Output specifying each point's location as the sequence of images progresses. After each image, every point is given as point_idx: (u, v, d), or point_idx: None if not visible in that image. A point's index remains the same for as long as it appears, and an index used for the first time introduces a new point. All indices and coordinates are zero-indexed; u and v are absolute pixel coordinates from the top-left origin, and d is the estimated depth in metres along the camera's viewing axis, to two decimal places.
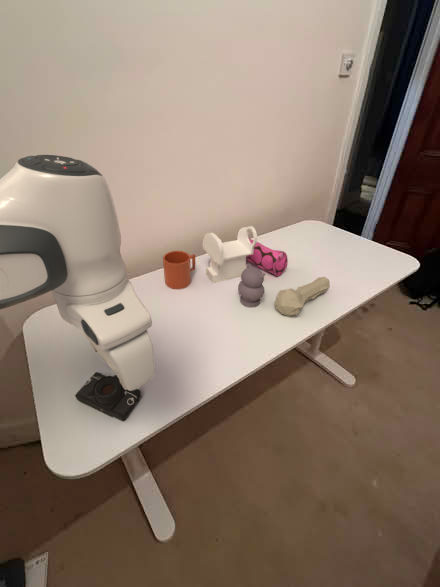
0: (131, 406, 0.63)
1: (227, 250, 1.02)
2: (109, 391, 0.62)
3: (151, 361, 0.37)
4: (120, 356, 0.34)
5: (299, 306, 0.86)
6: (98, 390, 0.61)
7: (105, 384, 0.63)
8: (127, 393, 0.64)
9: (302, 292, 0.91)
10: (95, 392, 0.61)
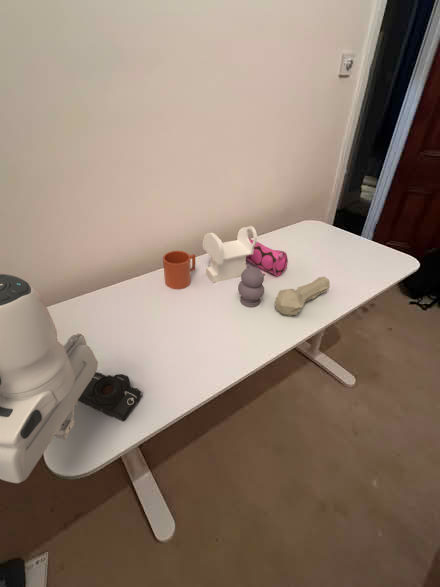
0: (131, 406, 0.63)
1: (227, 250, 1.02)
2: (109, 391, 0.62)
3: (11, 472, 0.37)
4: None
5: (299, 306, 0.86)
6: (98, 390, 0.61)
7: (105, 384, 0.63)
8: (127, 393, 0.64)
9: (302, 292, 0.91)
10: (95, 392, 0.61)
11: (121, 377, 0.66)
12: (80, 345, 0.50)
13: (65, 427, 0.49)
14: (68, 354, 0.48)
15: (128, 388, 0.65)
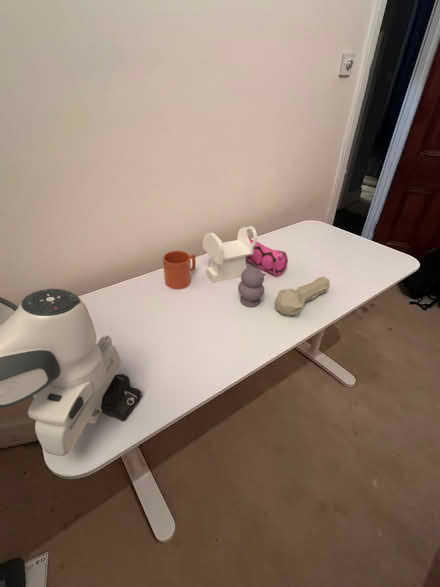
0: (131, 406, 0.63)
1: (227, 250, 1.02)
2: (109, 391, 0.62)
3: (59, 446, 0.47)
4: (38, 428, 0.46)
5: (299, 306, 0.86)
6: None
7: None
8: (128, 393, 0.64)
9: (302, 292, 0.91)
10: None
11: (121, 377, 0.66)
12: (108, 345, 0.59)
13: (95, 413, 0.59)
14: None
15: (128, 388, 0.65)
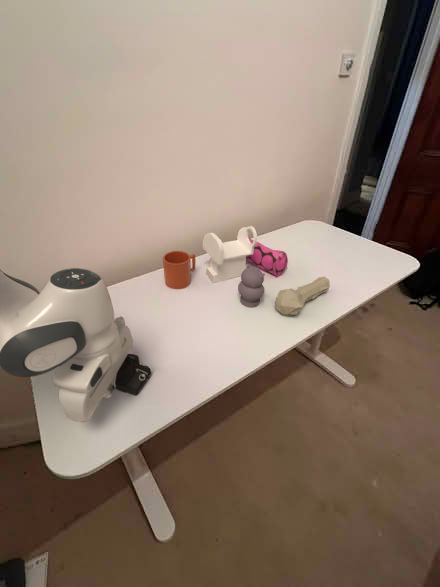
0: (143, 382, 0.68)
1: (227, 250, 1.02)
2: (122, 368, 0.67)
3: (81, 412, 0.52)
4: (61, 395, 0.51)
5: (299, 306, 0.86)
6: None
7: None
8: (139, 371, 0.69)
9: (302, 292, 0.91)
10: None
11: (131, 356, 0.71)
12: (122, 325, 0.64)
13: (110, 388, 0.63)
14: None
15: (139, 366, 0.70)
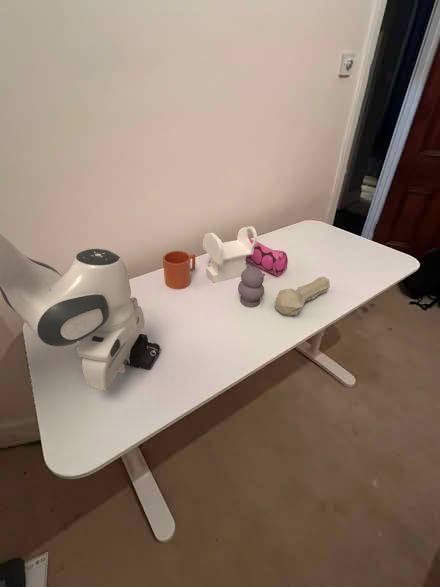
0: (154, 357, 0.74)
1: (227, 250, 1.02)
2: (134, 345, 0.72)
3: (101, 380, 0.57)
4: (84, 364, 0.56)
5: (299, 306, 0.86)
6: None
7: None
8: (149, 348, 0.75)
9: (302, 292, 0.91)
10: None
11: (141, 335, 0.76)
12: (135, 305, 0.69)
13: (124, 363, 0.69)
14: None
15: (148, 344, 0.76)
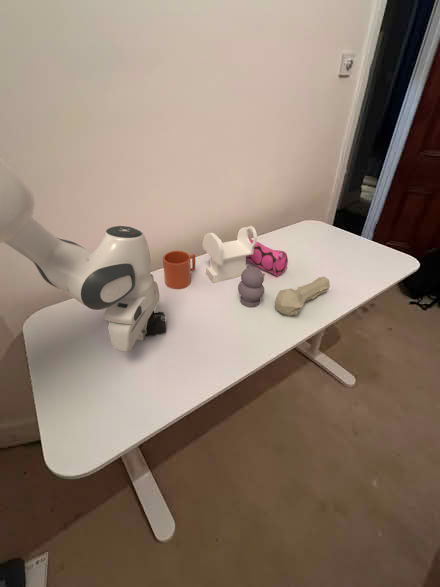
0: (164, 322, 0.84)
1: (227, 250, 1.02)
2: None
3: (125, 341, 0.65)
4: (110, 327, 0.64)
5: (299, 306, 0.86)
6: None
7: None
8: (157, 316, 0.84)
9: (302, 292, 0.91)
10: None
11: None
12: None
13: (142, 332, 0.77)
14: None
15: None
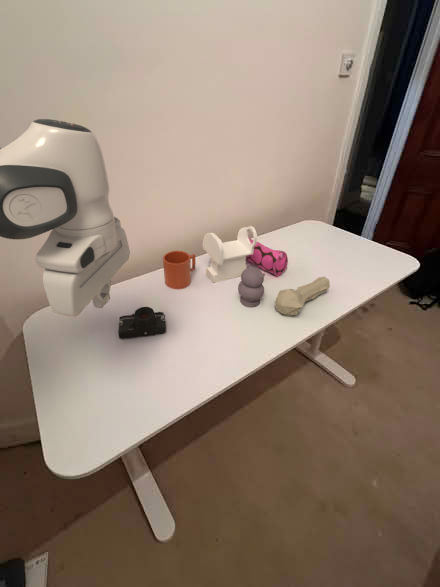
0: (164, 322, 0.84)
1: (227, 250, 1.02)
2: (147, 316, 0.81)
3: (69, 299, 0.44)
4: (46, 278, 0.43)
5: (299, 306, 0.86)
6: (140, 318, 0.79)
7: (140, 314, 0.81)
8: (157, 316, 0.84)
9: (302, 292, 0.91)
10: (139, 319, 0.79)
11: None
12: (118, 227, 0.56)
13: (103, 297, 0.55)
14: None
15: None
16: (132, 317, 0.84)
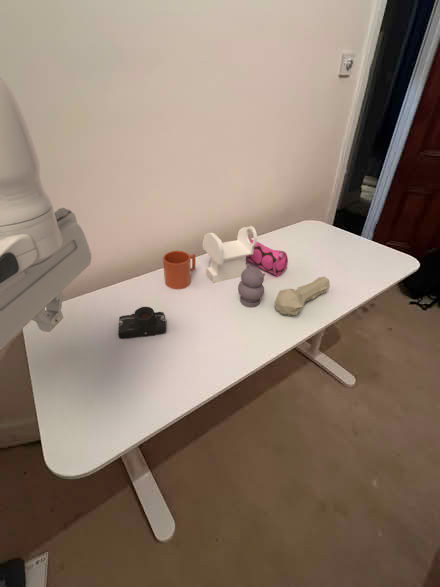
0: (164, 322, 0.84)
1: (227, 250, 1.02)
2: (147, 316, 0.81)
3: None
4: None
5: (299, 306, 0.86)
6: (140, 318, 0.79)
7: (140, 314, 0.81)
8: (157, 316, 0.84)
9: (302, 292, 0.91)
10: (139, 319, 0.79)
11: None
12: (70, 222, 0.42)
13: (51, 317, 0.41)
14: None
15: None
16: (132, 317, 0.84)
